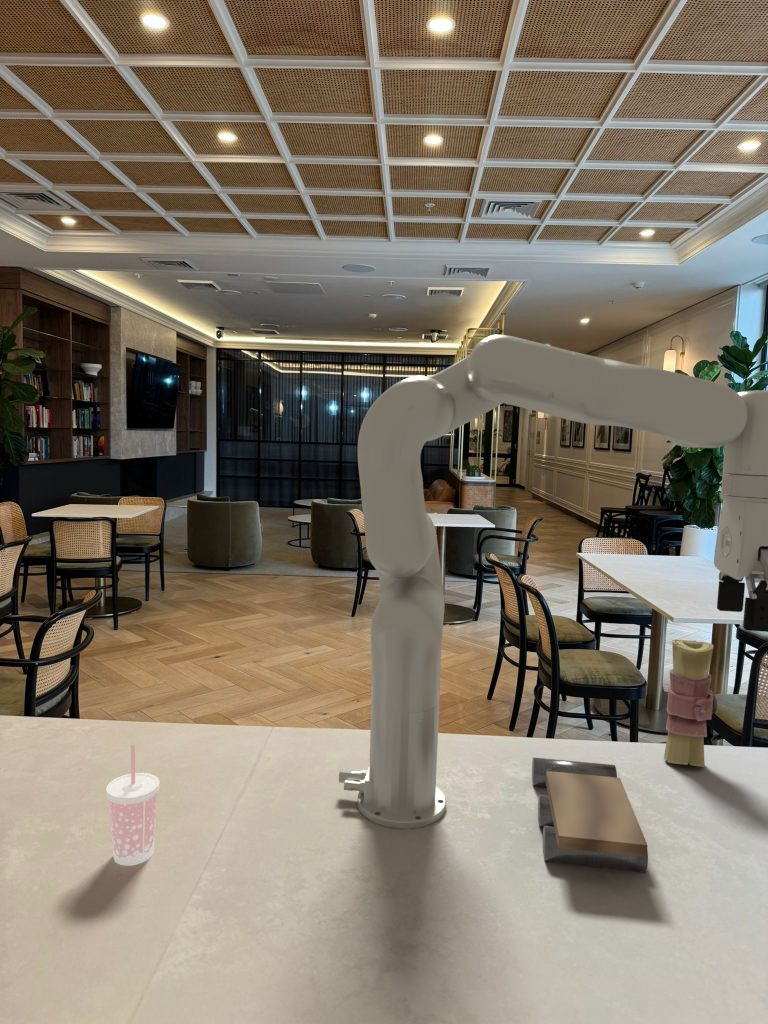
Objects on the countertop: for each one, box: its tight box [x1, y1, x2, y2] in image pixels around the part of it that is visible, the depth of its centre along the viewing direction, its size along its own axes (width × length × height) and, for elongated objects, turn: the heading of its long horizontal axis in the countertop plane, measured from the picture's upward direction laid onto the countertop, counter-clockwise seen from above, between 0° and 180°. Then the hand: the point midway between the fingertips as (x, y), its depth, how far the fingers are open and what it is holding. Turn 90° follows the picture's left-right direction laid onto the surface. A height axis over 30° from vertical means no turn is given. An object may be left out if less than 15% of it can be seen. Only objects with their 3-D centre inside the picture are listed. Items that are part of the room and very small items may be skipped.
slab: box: [546, 771, 648, 857], centre depth 88 cm, size 10×16×2 cm, turn 172°
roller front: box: [542, 826, 649, 873], centre depth 85 cm, size 12×4×4 cm, turn 82°
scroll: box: [663, 639, 718, 768], centre depth 112 cm, size 8×8×20 cm
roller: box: [531, 757, 618, 788], centre depth 104 cm, size 12×4×4 cm, turn 82°
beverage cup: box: [105, 744, 161, 867], centre depth 84 cm, size 6×6×14 cm
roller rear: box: [537, 794, 554, 828], centre depth 93 cm, size 12×4×4 cm, turn 82°
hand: (742, 620), depth 90 cm, fingers open, 9 cm apart
